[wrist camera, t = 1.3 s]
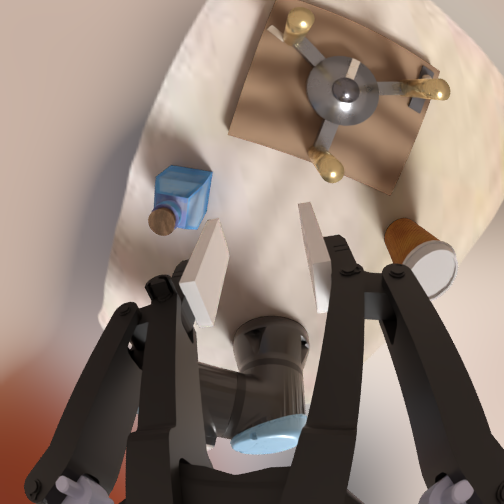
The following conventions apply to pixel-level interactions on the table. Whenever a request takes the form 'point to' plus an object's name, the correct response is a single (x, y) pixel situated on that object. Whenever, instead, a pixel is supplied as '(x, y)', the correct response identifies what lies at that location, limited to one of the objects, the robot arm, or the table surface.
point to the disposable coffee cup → (422, 256)
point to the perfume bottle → (179, 199)
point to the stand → (308, 121)
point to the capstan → (344, 91)
